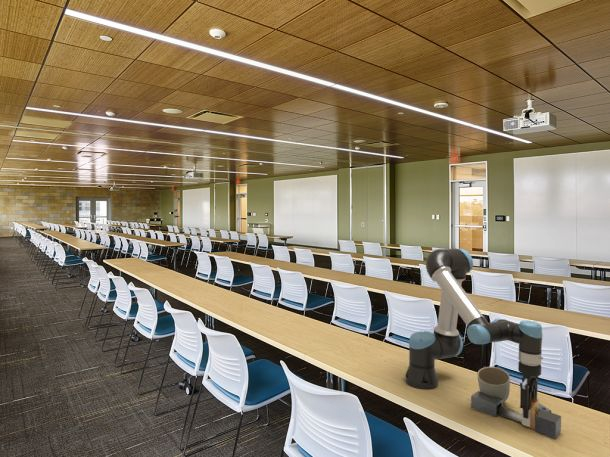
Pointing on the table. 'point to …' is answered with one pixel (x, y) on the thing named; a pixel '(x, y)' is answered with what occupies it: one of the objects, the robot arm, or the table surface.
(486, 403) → the grey block
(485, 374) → the planter
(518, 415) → the orange and grey piece
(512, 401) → the table surface
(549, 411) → the bracket
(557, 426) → the socket
